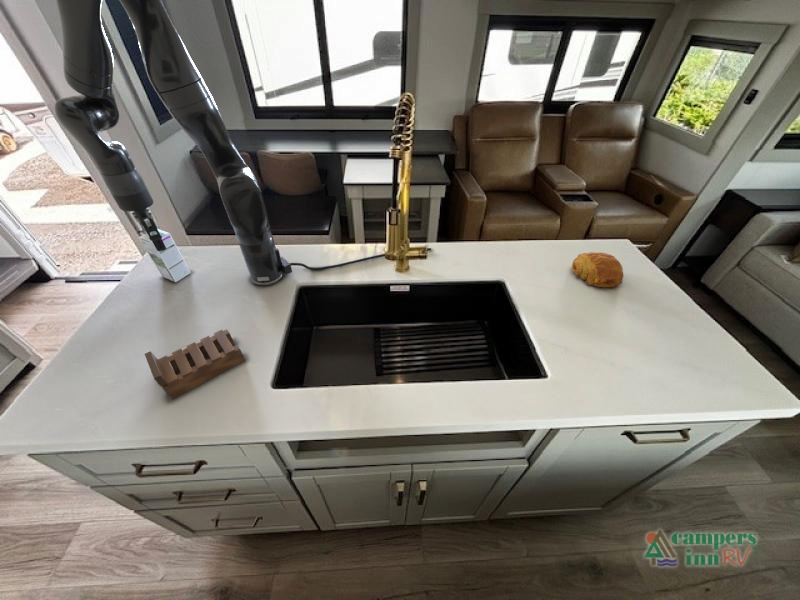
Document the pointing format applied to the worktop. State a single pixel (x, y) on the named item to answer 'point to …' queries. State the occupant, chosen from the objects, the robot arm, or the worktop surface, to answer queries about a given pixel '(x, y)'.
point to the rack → (192, 355)
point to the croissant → (598, 269)
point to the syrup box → (166, 257)
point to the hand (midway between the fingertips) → (158, 243)
